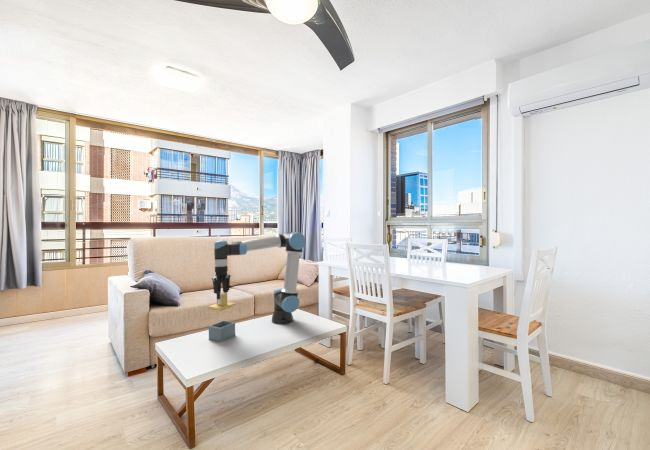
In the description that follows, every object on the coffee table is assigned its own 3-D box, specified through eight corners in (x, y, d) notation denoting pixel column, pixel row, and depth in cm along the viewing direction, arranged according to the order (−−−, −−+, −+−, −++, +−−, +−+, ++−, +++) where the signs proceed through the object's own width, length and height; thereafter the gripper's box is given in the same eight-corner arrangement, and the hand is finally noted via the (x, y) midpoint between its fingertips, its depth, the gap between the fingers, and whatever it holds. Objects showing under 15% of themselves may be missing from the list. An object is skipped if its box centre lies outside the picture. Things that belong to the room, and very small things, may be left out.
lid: (223, 304, 200) (223, 290, 200) (235, 306, 195) (235, 292, 195) (208, 309, 189) (207, 294, 189) (220, 312, 184) (220, 296, 184)
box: (223, 332, 199) (223, 320, 199) (235, 335, 195) (235, 322, 195) (208, 339, 189) (208, 326, 189) (220, 341, 184) (220, 328, 184)
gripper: (226, 263, 200) (227, 299, 201) (206, 267, 186) (207, 306, 186) (235, 264, 197) (235, 300, 197) (215, 267, 182) (216, 307, 183)
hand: (222, 303), depth 192 cm, fingers closed on lid, 3 cm apart
